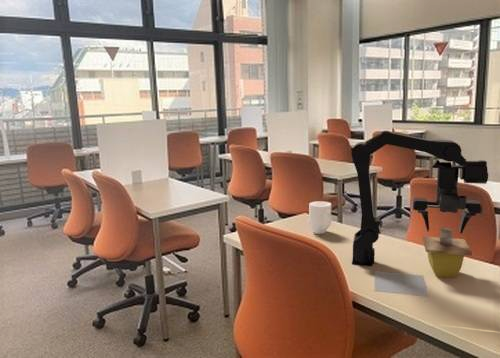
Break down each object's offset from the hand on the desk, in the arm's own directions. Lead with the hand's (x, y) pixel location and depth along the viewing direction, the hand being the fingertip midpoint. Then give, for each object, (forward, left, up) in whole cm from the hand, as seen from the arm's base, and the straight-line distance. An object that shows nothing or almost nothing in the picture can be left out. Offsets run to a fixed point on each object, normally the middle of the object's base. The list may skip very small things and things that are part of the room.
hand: (444, 232), depth 127 cm
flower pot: (0, -4, -12) cm, 13 cm away
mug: (-41, +28, -12) cm, 51 cm away
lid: (0, -4, -3) cm, 5 cm away
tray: (-13, -14, -12) cm, 23 cm away
